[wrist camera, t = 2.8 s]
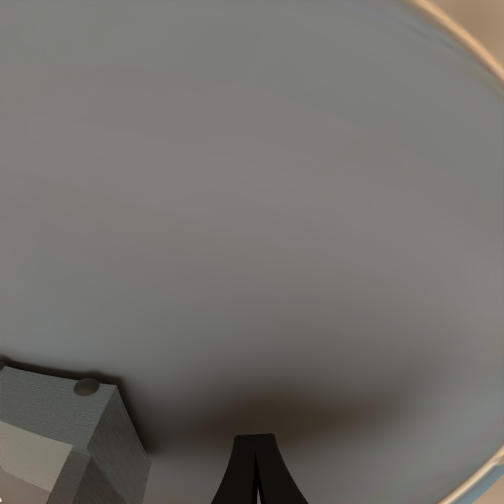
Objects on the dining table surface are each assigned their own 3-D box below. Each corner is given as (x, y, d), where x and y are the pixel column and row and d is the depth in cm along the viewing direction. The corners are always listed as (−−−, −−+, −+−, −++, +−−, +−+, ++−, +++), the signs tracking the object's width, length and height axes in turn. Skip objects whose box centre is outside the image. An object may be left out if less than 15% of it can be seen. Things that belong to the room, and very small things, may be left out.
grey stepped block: (119, 371, 10) (56, 505, 4) (154, 456, 11) (131, 562, 5) (-11, 351, 10) (-78, 422, 4) (32, 430, 11) (-10, 502, 5)
